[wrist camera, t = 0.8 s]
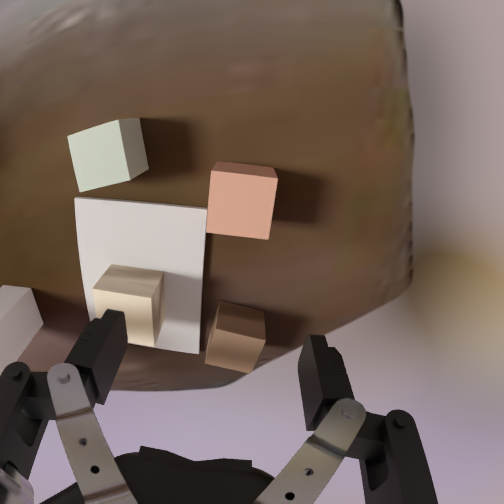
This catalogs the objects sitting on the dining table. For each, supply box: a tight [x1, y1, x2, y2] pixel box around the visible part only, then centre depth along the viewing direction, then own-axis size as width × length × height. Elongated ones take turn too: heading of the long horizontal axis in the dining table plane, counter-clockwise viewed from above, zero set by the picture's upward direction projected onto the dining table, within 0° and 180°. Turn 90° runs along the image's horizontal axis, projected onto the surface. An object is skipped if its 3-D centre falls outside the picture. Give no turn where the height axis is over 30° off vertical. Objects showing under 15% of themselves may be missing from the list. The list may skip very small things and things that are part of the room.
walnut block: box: [205, 300, 266, 373], centre depth 32 cm, size 5×5×5 cm
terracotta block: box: [206, 161, 278, 240], centre depth 26 cm, size 5×5×5 cm
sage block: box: [68, 118, 149, 192], centre depth 24 cm, size 5×5×5 cm
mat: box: [75, 197, 208, 354], centre depth 32 cm, size 18×14×1 cm
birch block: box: [92, 264, 165, 347], centre depth 30 cm, size 6×6×5 cm
